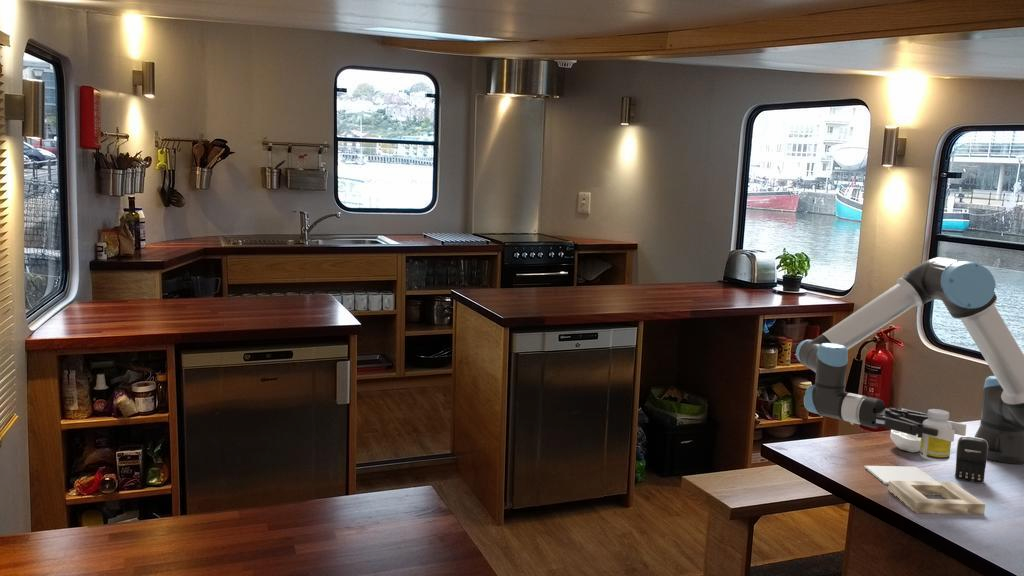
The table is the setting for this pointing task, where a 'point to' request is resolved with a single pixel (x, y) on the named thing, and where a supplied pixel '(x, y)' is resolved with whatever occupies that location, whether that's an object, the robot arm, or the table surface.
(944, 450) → the pill bottle
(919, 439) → the cell model
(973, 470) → the battery charger
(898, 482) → the holder
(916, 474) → the pad
